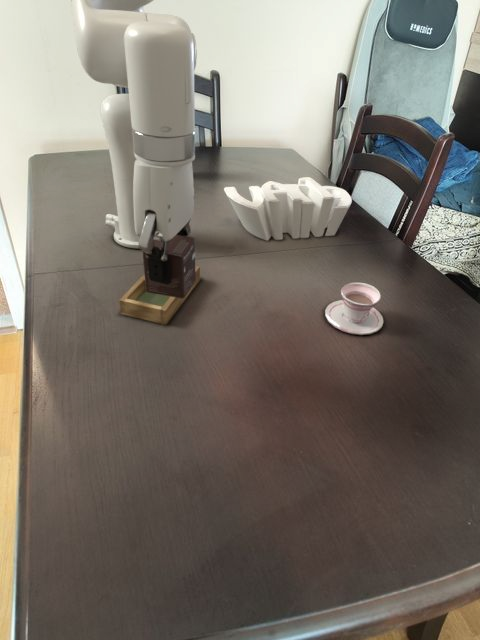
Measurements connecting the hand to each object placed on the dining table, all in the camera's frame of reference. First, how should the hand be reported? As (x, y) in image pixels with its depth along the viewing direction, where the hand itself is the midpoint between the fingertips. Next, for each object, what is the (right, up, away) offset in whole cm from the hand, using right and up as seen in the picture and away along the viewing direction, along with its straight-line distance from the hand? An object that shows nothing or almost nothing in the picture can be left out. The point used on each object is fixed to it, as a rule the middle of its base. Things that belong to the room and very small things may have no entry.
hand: (170, 269), depth 68 cm
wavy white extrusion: (+21, +22, +58) cm, 66 cm away
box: (0, -2, +2) cm, 3 cm away
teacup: (+33, -6, +26) cm, 42 cm away
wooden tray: (-7, -1, +26) cm, 27 cm away
